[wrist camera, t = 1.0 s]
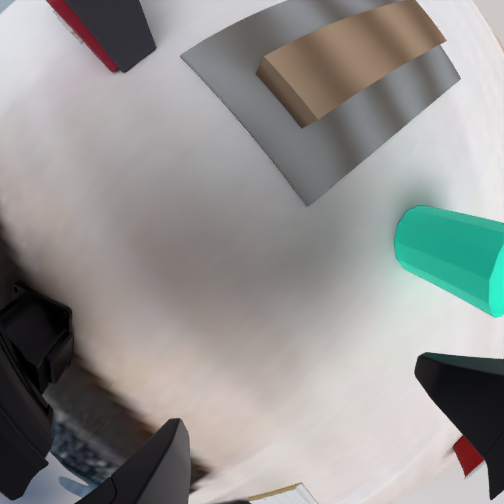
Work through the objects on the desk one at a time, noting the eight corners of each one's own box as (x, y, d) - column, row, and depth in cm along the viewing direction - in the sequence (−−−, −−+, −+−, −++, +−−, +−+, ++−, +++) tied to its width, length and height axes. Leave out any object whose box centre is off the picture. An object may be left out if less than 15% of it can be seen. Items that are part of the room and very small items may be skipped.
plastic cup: (438, 456, 39) (460, 485, 27) (468, 425, 37) (494, 452, 26) (452, 453, 42) (472, 477, 30) (479, 424, 40) (501, 447, 29)
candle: (421, 280, 22) (517, 335, 11) (382, 255, 21) (497, 314, 9) (446, 225, 21) (547, 256, 10) (411, 192, 20) (532, 213, 8)
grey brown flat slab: (306, 206, 19) (325, 210, 15) (180, 57, 15) (176, 35, 12) (459, 79, 18) (480, 74, 15) (380, -23, 14) (396, -36, 11)
